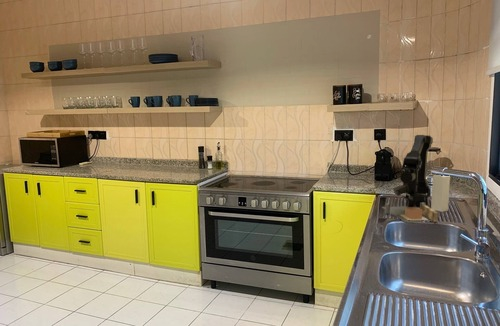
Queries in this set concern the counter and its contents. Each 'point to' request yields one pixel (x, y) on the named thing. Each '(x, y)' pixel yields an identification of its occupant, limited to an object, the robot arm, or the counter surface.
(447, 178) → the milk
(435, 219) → the tan wooden bar
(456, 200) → the counter surface
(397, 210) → the grey panel
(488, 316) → the counter surface
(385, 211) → the olive long rounded piece
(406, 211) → the block
